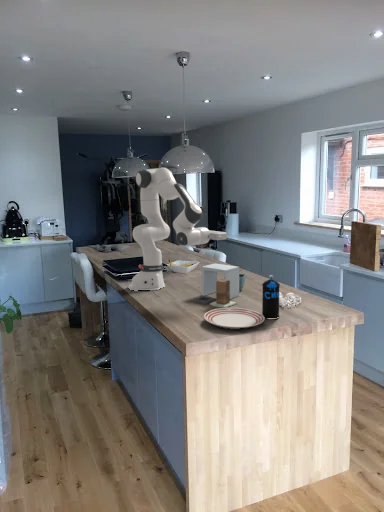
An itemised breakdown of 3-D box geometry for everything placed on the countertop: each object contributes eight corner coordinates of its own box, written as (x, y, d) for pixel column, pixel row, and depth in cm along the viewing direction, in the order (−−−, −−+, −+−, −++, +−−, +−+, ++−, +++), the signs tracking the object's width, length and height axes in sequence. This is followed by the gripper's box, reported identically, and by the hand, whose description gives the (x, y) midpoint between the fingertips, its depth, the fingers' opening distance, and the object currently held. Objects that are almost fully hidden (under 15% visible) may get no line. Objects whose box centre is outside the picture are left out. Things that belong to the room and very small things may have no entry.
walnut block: (224, 304, 222) (223, 282, 220) (216, 303, 226) (216, 280, 224) (229, 302, 226) (229, 280, 224) (222, 301, 229) (222, 278, 227)
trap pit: (205, 304, 227) (205, 302, 227) (192, 301, 233) (192, 299, 233) (216, 300, 233) (216, 298, 233) (203, 297, 239) (203, 295, 239)
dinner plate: (266, 315, 208) (266, 308, 207) (262, 335, 181) (262, 327, 181) (210, 312, 214) (209, 305, 213) (198, 331, 187) (198, 323, 187)
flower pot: (245, 288, 257) (245, 274, 256) (242, 292, 249) (242, 277, 248) (231, 287, 260) (231, 273, 259) (227, 291, 252) (227, 276, 250)
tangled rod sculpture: (302, 311, 216) (303, 303, 215) (273, 308, 218) (274, 300, 217) (299, 300, 235) (300, 292, 234) (272, 297, 237) (273, 290, 236)
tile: (225, 308, 219) (225, 306, 219) (209, 304, 226) (209, 303, 225) (236, 303, 226) (236, 302, 226) (221, 300, 233) (221, 299, 233)
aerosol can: (259, 314, 208) (260, 274, 204) (276, 314, 208) (277, 273, 205) (264, 320, 200) (264, 277, 196) (281, 319, 200) (282, 277, 197)
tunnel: (226, 300, 233) (226, 270, 231) (202, 295, 245) (201, 266, 242) (239, 295, 242) (239, 266, 239) (215, 291, 253) (215, 263, 250)
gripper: (217, 231, 222) (233, 229, 232) (188, 227, 236) (204, 225, 246) (217, 243, 223) (233, 240, 233) (188, 239, 237) (204, 236, 247)
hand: (218, 232), depth 240 cm, fingers open, 8 cm apart
